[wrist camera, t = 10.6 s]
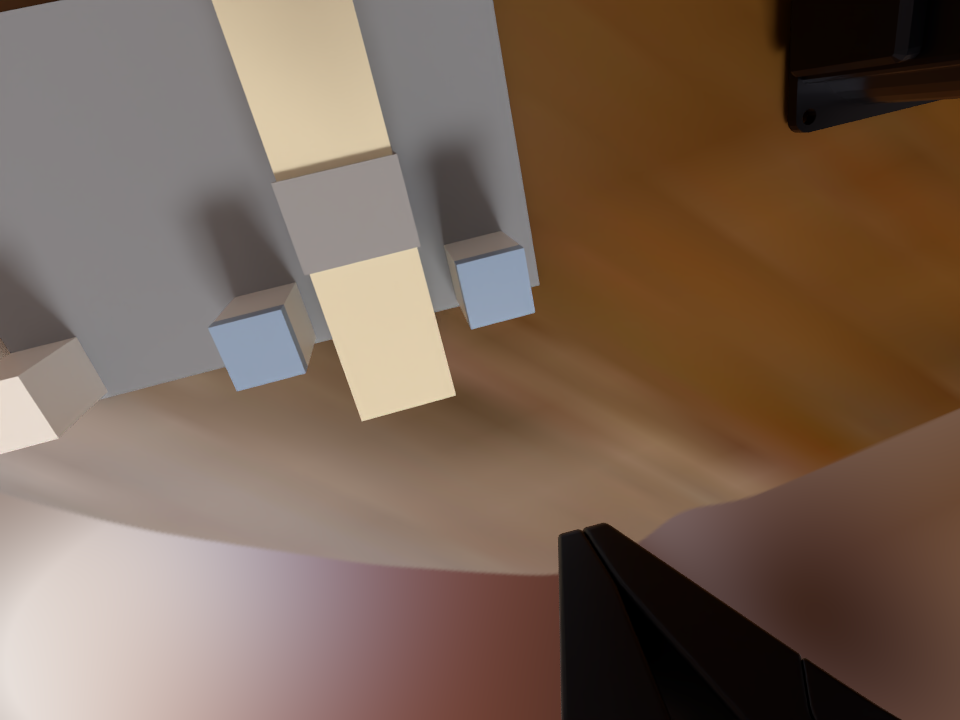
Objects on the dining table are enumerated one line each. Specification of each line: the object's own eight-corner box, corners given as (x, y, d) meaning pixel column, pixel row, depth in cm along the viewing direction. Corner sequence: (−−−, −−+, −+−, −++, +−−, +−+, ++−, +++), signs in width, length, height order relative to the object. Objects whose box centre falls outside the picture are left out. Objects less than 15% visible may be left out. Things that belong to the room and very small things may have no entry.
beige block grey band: (344, -37, 14) (336, -81, 11) (446, 357, 19) (459, 397, 16) (225, -13, 14) (186, -52, 11) (361, 381, 19) (358, 425, 16)
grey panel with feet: (475, -77, 15) (503, -134, 12) (535, 281, 19) (567, 310, 16) (-168, 52, 13) (-335, 26, 10) (57, 405, 18) (-12, 463, 15)
